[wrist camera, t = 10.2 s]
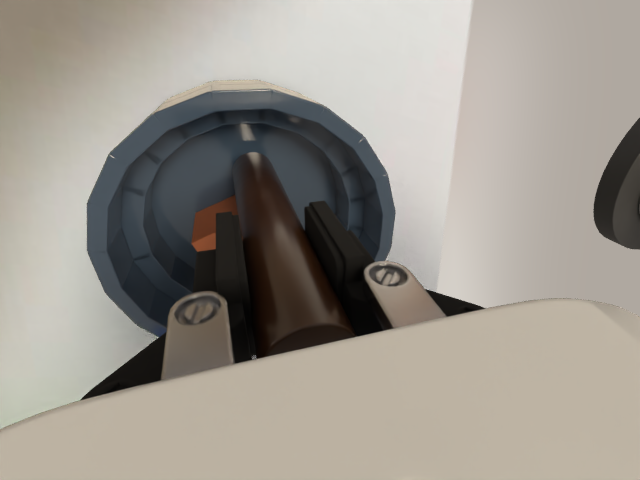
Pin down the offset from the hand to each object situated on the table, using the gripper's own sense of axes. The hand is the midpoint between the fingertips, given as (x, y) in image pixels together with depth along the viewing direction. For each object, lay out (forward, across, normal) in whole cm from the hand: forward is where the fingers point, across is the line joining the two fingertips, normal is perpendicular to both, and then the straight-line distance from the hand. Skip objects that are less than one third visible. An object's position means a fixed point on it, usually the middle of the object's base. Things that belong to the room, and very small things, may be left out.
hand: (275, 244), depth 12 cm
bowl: (+11, 0, +3) cm, 11 cm away
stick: (+9, 0, 0) cm, 9 cm away
